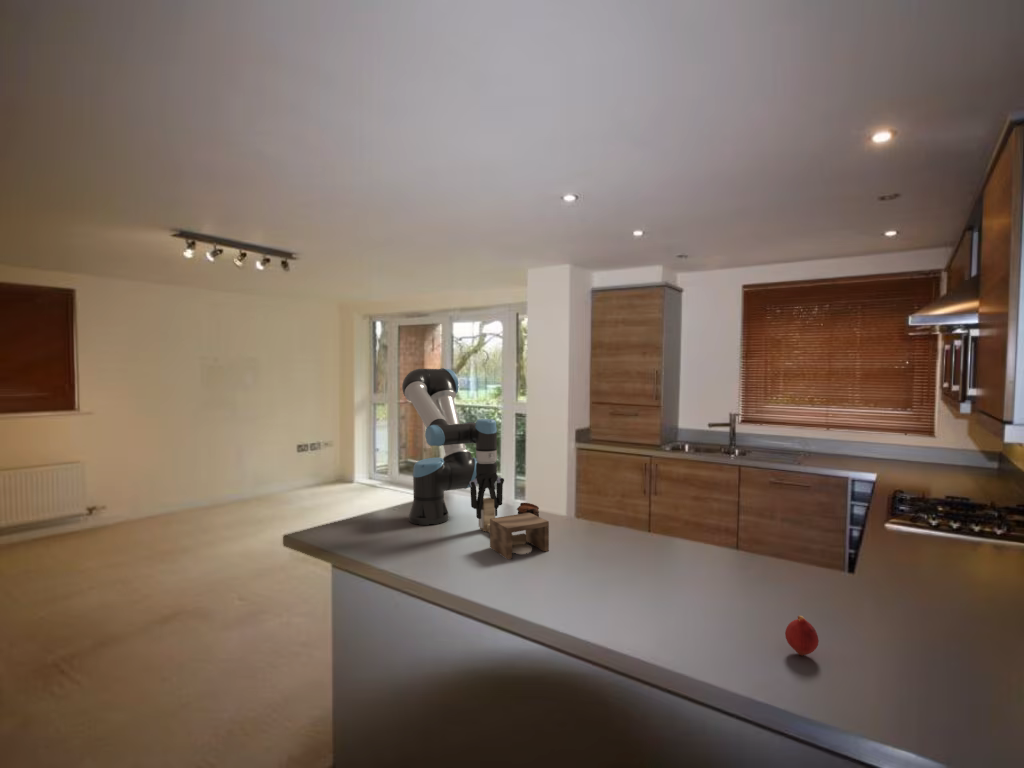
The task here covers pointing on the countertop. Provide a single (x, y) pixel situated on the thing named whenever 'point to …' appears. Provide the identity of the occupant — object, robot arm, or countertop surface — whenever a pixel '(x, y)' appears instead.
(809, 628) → the onion
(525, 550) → the ceramic disc
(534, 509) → the pottery mug
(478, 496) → the robot arm
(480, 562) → the countertop surface
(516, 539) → the wooden mallet
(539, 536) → the walnut bench
